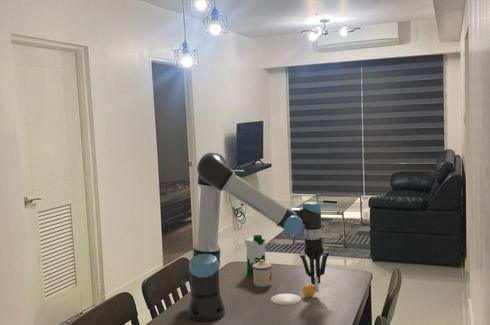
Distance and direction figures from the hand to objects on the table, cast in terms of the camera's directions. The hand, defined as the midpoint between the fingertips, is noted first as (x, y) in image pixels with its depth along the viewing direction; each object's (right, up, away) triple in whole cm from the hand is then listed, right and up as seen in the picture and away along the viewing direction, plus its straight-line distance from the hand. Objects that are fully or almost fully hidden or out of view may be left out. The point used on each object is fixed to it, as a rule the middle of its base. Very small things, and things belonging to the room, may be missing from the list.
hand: (316, 290), depth 219 cm
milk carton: (-25, -1, +34) cm, 42 cm away
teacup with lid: (-23, -2, +21) cm, 31 cm away
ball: (-3, 0, -1) cm, 3 cm away
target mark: (-13, -3, -2) cm, 14 cm away
